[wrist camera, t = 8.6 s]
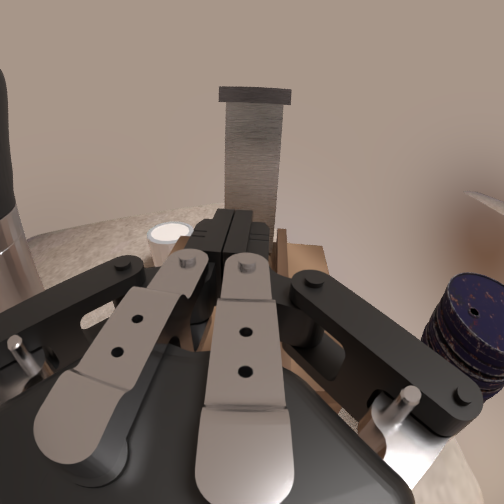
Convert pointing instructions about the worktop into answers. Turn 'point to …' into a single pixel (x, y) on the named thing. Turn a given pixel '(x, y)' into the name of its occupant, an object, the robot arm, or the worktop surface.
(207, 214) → the worktop surface
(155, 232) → the white cylinder
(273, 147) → the grey metal tall block
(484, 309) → the dark blue ribbed barrel
